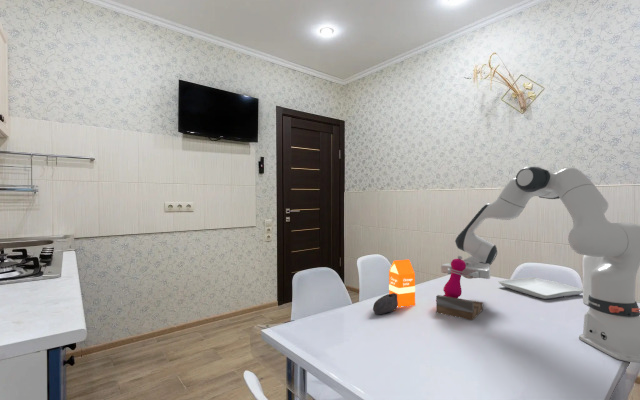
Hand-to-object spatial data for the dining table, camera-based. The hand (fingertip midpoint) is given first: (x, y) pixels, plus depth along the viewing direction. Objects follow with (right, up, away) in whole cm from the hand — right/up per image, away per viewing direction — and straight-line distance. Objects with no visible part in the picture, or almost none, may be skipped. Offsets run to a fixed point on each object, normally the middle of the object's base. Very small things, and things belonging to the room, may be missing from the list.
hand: (460, 273), depth 138 cm
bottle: (+63, -15, +6) cm, 65 cm away
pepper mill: (-4, -12, 0) cm, 13 cm away
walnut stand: (-1, -16, -1) cm, 16 cm away
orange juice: (-23, -16, +9) cm, 29 cm away
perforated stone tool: (-32, -16, -2) cm, 36 cm away
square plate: (+53, -16, +28) cm, 62 cm away
